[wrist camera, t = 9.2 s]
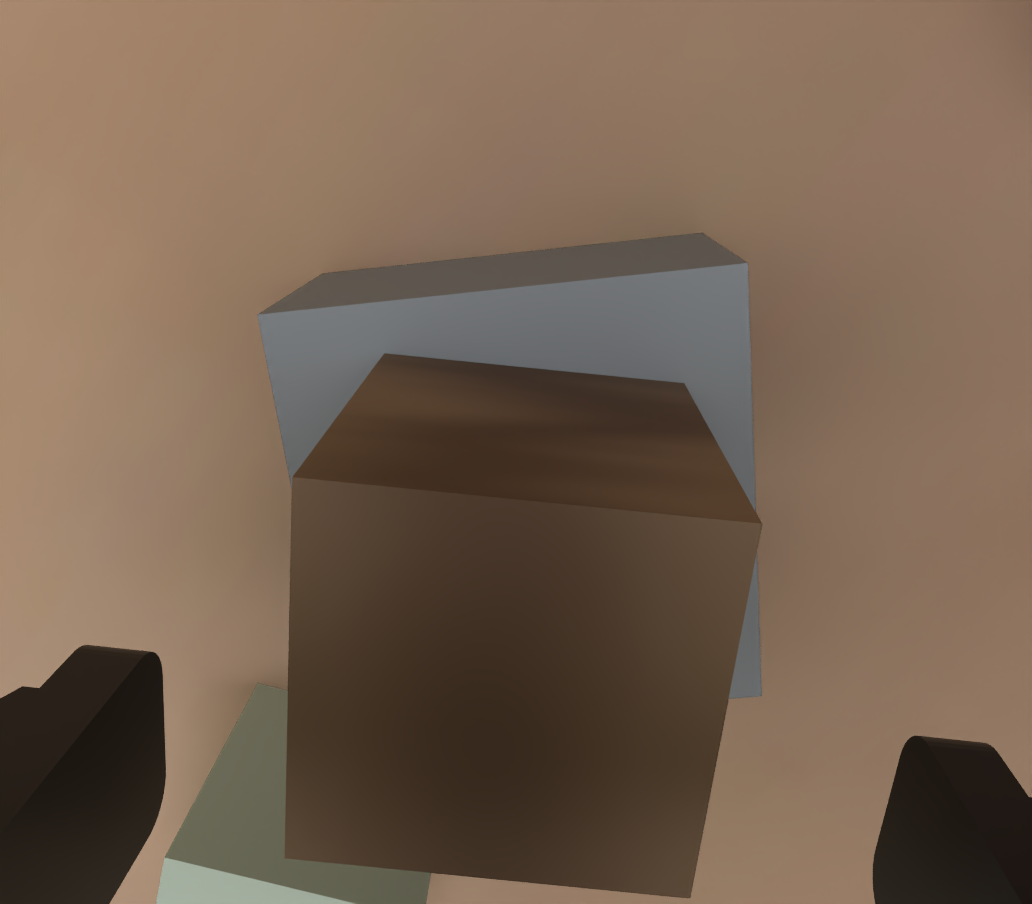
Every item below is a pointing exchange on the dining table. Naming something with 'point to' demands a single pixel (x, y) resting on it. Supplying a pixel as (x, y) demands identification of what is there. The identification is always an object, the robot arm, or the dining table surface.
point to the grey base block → (534, 340)
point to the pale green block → (263, 832)
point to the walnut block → (513, 627)
